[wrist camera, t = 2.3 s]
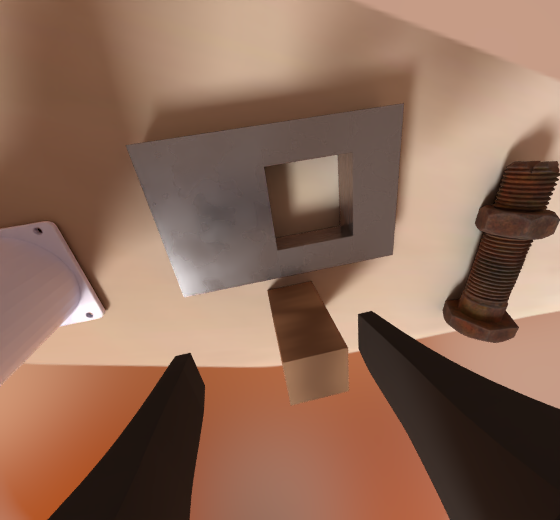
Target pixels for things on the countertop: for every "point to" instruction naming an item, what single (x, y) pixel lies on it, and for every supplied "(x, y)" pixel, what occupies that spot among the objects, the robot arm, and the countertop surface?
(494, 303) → the bolt
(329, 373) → the pin
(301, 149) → the collar plate
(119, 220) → the countertop surface
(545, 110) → the countertop surface
